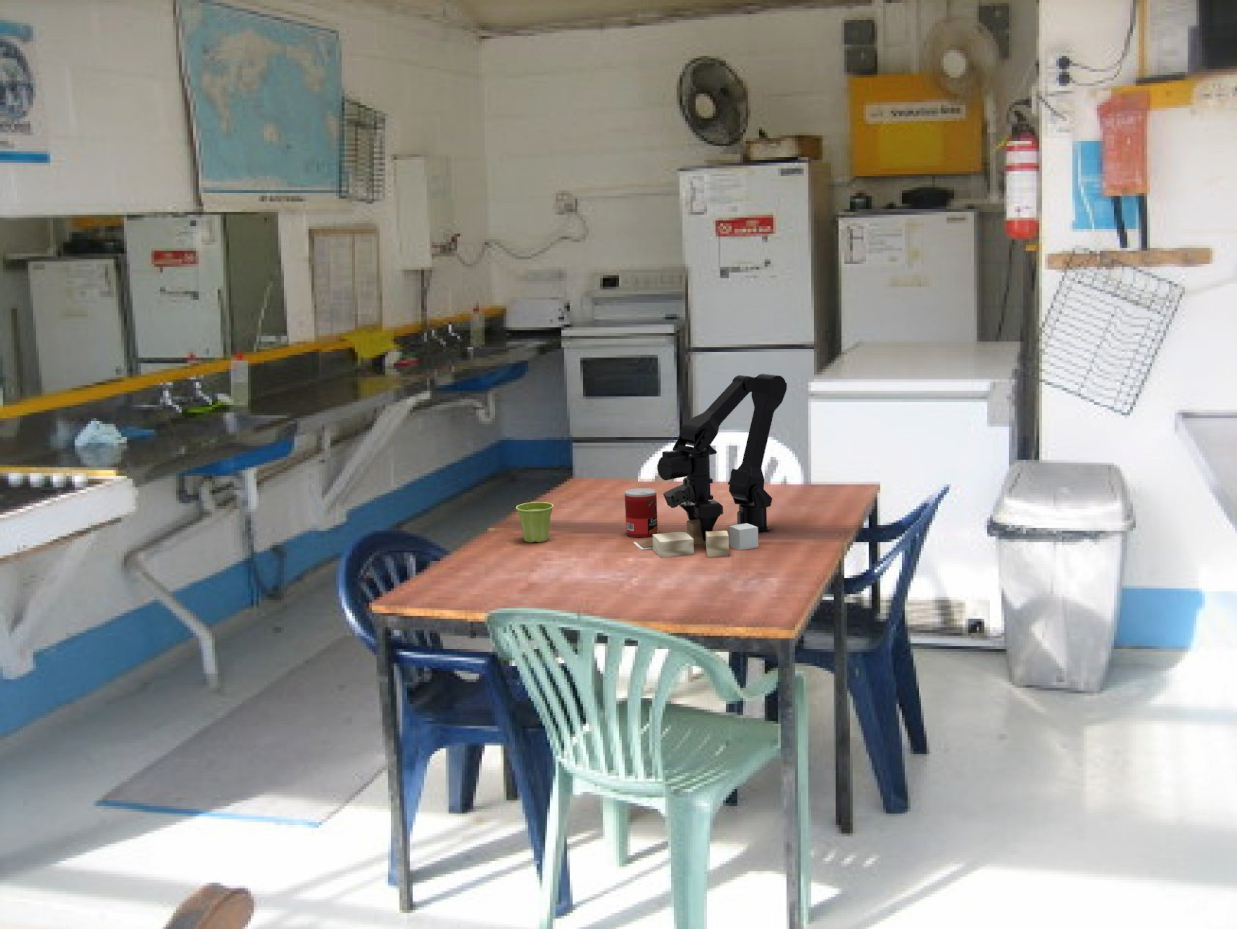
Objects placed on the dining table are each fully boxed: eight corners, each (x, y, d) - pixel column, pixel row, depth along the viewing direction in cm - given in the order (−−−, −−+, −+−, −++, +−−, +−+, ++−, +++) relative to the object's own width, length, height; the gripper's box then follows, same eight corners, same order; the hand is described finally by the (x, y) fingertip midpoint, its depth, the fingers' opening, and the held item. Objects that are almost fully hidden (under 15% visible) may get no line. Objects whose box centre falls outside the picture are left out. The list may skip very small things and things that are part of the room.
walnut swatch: (661, 540, 326) (661, 538, 326) (670, 547, 319) (670, 544, 319) (633, 543, 324) (633, 541, 324) (641, 550, 317) (641, 547, 317)
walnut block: (706, 538, 327) (706, 518, 326) (713, 543, 322) (712, 523, 321) (687, 540, 325) (686, 520, 324) (693, 545, 321) (692, 525, 320)
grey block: (747, 543, 320) (747, 523, 319) (758, 547, 316) (757, 527, 315) (729, 546, 318) (729, 525, 317) (740, 550, 314) (739, 530, 313)
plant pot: (563, 538, 332) (561, 504, 330) (535, 546, 325) (533, 512, 323) (537, 533, 338) (535, 500, 336) (509, 541, 331) (508, 507, 330)
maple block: (727, 551, 314) (726, 530, 313) (729, 556, 309) (728, 535, 308) (706, 552, 314) (705, 531, 313) (707, 557, 309) (707, 536, 308)
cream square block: (685, 547, 319) (685, 531, 319) (694, 555, 312) (693, 539, 311) (653, 550, 318) (652, 534, 317) (660, 558, 310) (660, 542, 309)
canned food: (655, 538, 329) (653, 494, 327) (623, 537, 330) (621, 494, 328) (660, 530, 336) (658, 488, 334) (629, 530, 338) (627, 488, 336)
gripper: (655, 470, 327) (657, 531, 330) (677, 484, 310) (680, 549, 312) (698, 466, 330) (699, 527, 333) (723, 480, 312) (724, 544, 315)
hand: (700, 537), depth 323 cm, fingers open, 8 cm apart
